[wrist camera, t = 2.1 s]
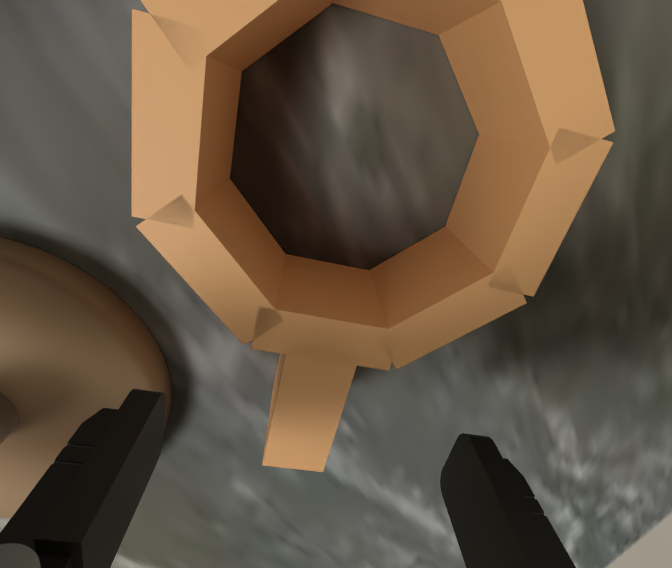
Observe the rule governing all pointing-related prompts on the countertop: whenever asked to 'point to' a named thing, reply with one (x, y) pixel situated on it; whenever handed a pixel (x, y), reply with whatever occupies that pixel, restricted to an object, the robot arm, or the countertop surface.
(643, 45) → the countertop surface
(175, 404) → the countertop surface
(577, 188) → the ring
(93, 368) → the round wooden base
